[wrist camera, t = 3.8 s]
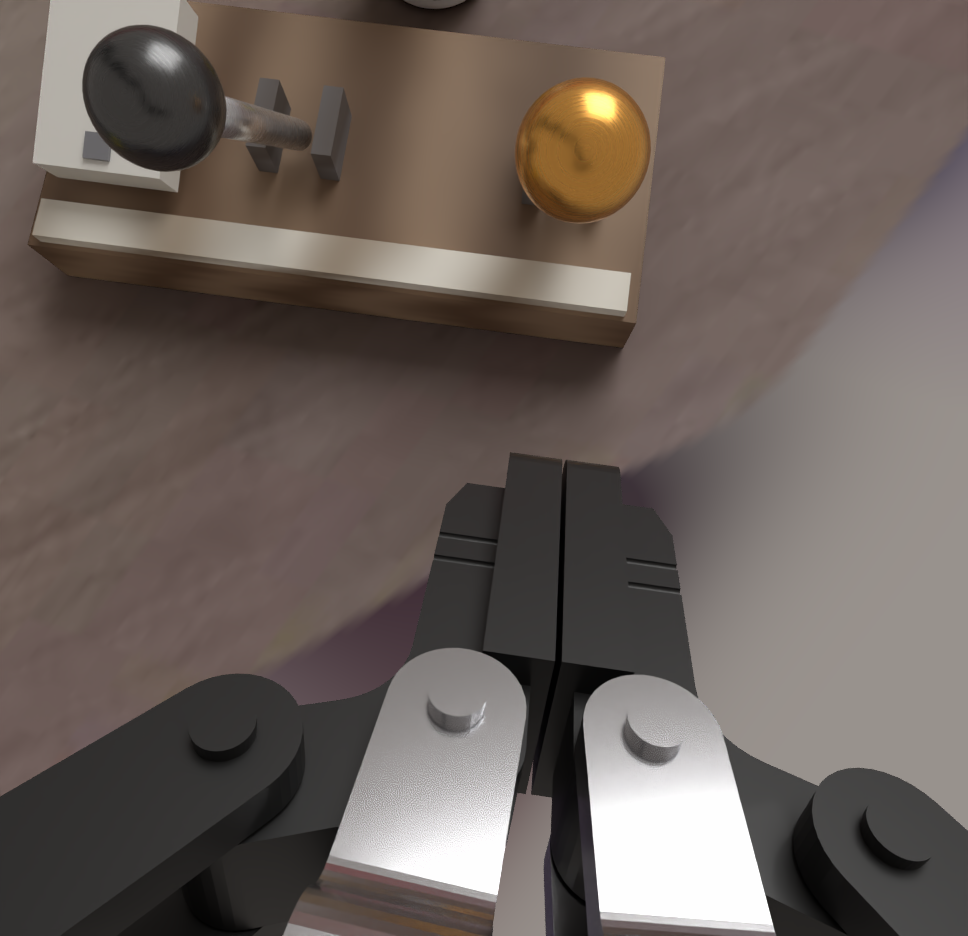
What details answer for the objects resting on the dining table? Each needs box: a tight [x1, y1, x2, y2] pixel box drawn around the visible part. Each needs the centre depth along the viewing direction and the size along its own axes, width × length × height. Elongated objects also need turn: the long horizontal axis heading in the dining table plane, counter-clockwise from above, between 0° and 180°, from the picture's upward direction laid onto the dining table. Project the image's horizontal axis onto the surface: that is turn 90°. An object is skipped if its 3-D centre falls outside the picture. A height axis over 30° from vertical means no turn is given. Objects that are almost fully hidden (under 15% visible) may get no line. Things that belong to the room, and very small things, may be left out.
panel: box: [28, 1, 665, 348], centre depth 32 cm, size 25×12×5 cm, turn 82°
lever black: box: [82, 25, 312, 172], centre depth 24 cm, size 3×3×13 cm
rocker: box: [33, 0, 198, 192], centre depth 30 cm, size 5×7×2 cm
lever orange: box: [515, 77, 651, 224], centre depth 24 cm, size 3×3×14 cm
